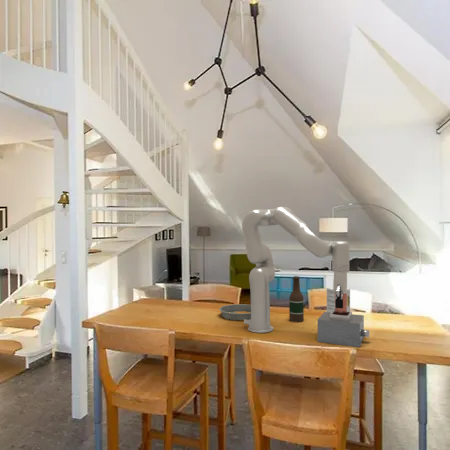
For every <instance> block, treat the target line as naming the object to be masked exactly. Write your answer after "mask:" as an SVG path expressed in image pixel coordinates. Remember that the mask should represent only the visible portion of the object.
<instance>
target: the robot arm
mask: <svg viewBox="0 0 450 450" xmlns="http://www.w3.org/2000/svg"><path fill="white" fill-rule="evenodd" d="M267 226H268V227H269V226H279V227H281V228H282V229H283V230H284V231H286V232H288V233H289V234H290V235H291V236H292V237H293V238H294V239H295V240H296V241H297V242H298V243H299V244H300V245H301V246H302V247H304V249H306V250H307V251H309V252H310V253H311V254H313V256H315V257H317V258H320V259H321V258H325V257H331V261H332V262H331V271H332V272H333V282H332V283H333V287H332V288H333V293H334V294H335V293H336V299H335V307H336V308H343V299H342V297H343V294H345V293H346V291H347V288H348V273H350V243H349V242H348V241H345V240H336V241H334V240H333V241H332V240H327V239H326V240H322V239H320V237H318V236H317V235H316V234H314V233H313V232H312V231H311V229H309V226H308V224H307V223H306V221H304V220H302V219H301V218H299V217H298V216H297V215H296V214H294V212H293V210H292V209H291V208H290V207H287V206H278V207H276V208H270V209H269V208H268V209H261V208H260V209H258V208H256V209H252V210H250V211H249V212H247V213H246V214H245V216H244V217H243V219H242V223H241V227H242V229H241V230H242V234H243V238H244V244H245V250H246V257H247V259H248V261H249V262H250V263H251V264H254V265H255V267H254V268H252V269H251V270H250V272H249V275H248V281H249V289H250V290H249V291H250V305H251V312H250V313H251V319H250V320H246V319H244V321H243V324H244V325H248V326H247V330H248V331H249V332H252V333H256V334H257V333H258V334H259V333H260V334H266V333H270V332H273V330H274V327H273V325H271V306H270V305H271V295H270V293H271V292H270V285H269V283H270V282H272V281H273V280H274V278H275V276H276V271H275V270H276V269H275V265H274V259H273V255H272V251H271V249H270V247H269V246H268V245H266V244H263V241H262V234H261V232H260V229H259V227H267Z"/></svg>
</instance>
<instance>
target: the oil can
mask: <svg viewBox="0 0 450 450" xmlns="http://www.w3.org/2000/svg"><path fill="white" fill-rule="evenodd" d="M335 299H336V293H335ZM342 299H343V308H336V307H335V314H337V315H347V293H345V294H343V297H342Z"/></svg>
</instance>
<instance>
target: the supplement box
mask: <svg viewBox="0 0 450 450" xmlns="http://www.w3.org/2000/svg"><path fill="white" fill-rule="evenodd" d="M346 293H347V312H351V288H348V287H347V291H346ZM333 310H335V294H334V293H333V287H328V288H326V312H332V311H333Z"/></svg>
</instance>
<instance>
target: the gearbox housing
mask: <svg viewBox="0 0 450 450" xmlns="http://www.w3.org/2000/svg"><path fill="white" fill-rule="evenodd" d="M364 318H365V316H364V315H363V314H362V315H361V314H353V312H352V311H350V312H347V315H337V314H335V310H333V311H332V312H327V311H324V312H323V313H322V314H321V315H320V316H319V318H317V321H316V323H317V343H323V344H331V345H339V346H348V347H356V348H361V346H362V343H363V340H364V338H370V330H369V329H364V328H365V325H364V323H365V322H364V321H365V319H364Z"/></svg>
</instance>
